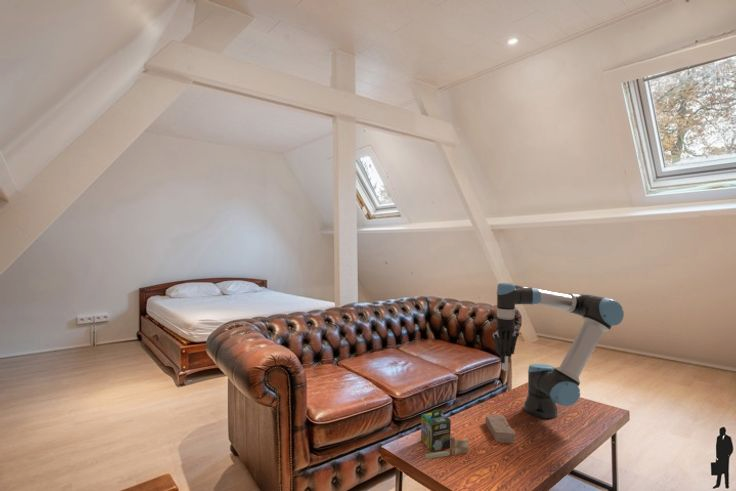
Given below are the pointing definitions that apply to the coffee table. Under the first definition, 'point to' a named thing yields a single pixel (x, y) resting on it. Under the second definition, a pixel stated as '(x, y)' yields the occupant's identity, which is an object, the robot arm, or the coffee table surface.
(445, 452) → the kerb
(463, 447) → the chute
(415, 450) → the coffee table surface
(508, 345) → the robot arm
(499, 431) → the brick
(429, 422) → the chalk box
